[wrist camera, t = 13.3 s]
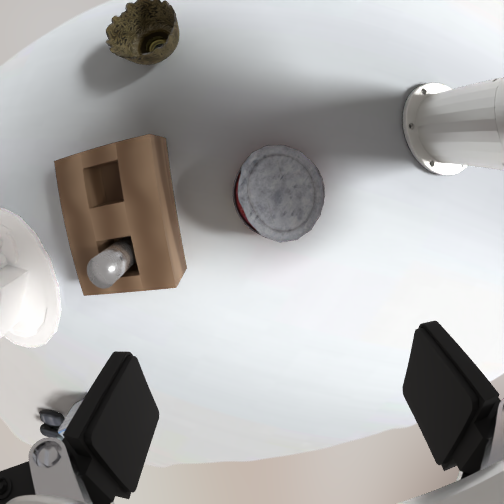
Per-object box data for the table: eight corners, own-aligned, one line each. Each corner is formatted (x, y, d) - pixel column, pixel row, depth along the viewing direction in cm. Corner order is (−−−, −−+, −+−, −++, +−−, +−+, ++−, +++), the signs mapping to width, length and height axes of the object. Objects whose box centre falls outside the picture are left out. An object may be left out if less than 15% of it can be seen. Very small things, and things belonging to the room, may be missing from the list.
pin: (142, 231, 34) (110, 254, 25) (147, 257, 35) (119, 287, 26) (118, 235, 34) (83, 258, 25) (124, 260, 35) (91, 289, 26)
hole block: (165, 137, 32) (149, 134, 27) (186, 268, 37) (176, 287, 31) (80, 159, 33) (54, 161, 27) (103, 277, 37) (83, 295, 32)
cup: (155, 88, 30) (131, 71, 23) (121, 54, 29) (92, 34, 21) (202, 47, 29) (190, 19, 21) (165, 15, 27) (147, -14, 20)
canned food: (248, 157, 38) (253, 110, 28) (322, 182, 38) (348, 143, 28) (217, 237, 35) (211, 209, 26) (298, 265, 35) (322, 247, 26)
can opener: (51, 424, 48) (41, 440, 43) (40, 404, 46) (29, 420, 41) (116, 443, 49) (109, 463, 43) (108, 424, 47) (99, 444, 41)
